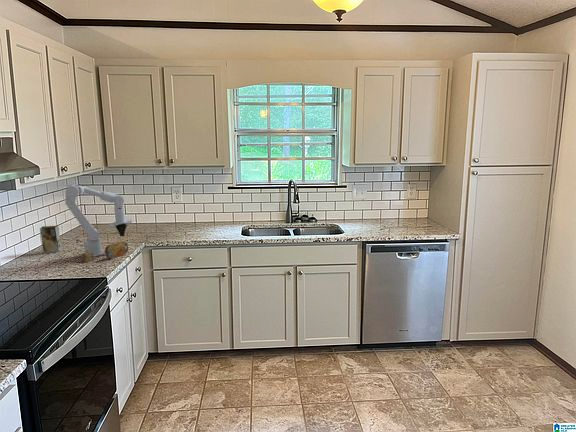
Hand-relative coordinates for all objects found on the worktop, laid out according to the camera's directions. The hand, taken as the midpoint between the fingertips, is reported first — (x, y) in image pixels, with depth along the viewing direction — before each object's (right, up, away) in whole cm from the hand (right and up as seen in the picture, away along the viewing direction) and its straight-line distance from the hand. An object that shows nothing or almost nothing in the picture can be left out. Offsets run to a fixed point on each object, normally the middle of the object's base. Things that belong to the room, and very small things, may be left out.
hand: (122, 236), depth 261 cm
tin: (+1, -12, -11) cm, 16 cm away
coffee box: (-46, -10, +6) cm, 48 cm away
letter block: (-13, -13, -18) cm, 26 cm away
